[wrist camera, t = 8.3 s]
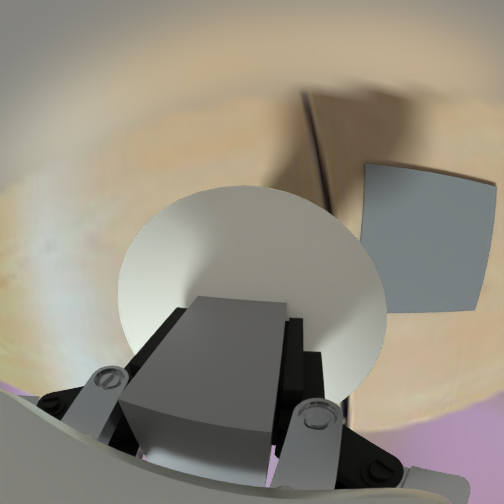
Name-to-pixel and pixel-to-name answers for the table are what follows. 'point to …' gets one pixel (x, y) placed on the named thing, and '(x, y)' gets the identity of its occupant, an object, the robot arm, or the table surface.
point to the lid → (240, 322)
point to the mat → (427, 237)
